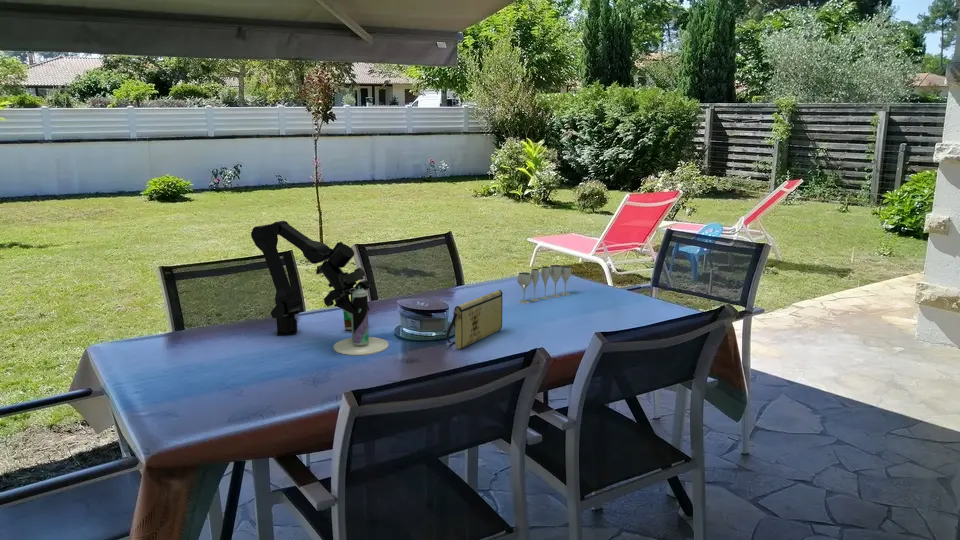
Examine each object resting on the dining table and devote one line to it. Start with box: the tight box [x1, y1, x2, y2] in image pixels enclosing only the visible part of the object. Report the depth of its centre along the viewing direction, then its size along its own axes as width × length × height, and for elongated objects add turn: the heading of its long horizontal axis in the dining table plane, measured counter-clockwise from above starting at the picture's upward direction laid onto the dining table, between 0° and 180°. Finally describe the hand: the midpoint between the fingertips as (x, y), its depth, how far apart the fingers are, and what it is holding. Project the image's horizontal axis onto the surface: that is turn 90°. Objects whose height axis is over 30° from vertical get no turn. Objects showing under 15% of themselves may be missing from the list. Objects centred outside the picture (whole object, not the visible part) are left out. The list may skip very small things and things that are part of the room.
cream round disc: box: [333, 336, 389, 356], centre depth 243 cm, size 18×18×1 cm
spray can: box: [350, 284, 370, 346], centre depth 241 cm, size 6×6×20 cm
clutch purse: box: [445, 289, 504, 350], centre depth 250 cm, size 30×7×15 cm, turn 147°
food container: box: [342, 309, 352, 332], centre depth 263 cm, size 12×6×10 cm, turn 168°
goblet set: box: [516, 264, 572, 304], centre depth 305 cm, size 28×6×13 cm, turn 126°
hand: (362, 312), depth 240 cm, fingers closed on spray can, 5 cm apart
